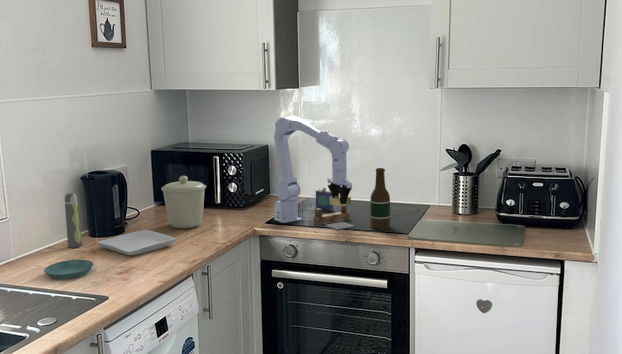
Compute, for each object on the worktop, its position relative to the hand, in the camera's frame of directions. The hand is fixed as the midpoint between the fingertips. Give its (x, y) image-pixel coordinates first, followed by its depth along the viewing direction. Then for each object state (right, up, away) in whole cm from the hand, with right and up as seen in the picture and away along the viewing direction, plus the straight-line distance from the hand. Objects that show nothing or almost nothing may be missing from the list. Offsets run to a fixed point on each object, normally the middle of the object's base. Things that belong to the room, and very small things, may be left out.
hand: (339, 202), depth 245 cm
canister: (-64, -10, +8) cm, 65 cm away
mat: (0, -10, +2) cm, 10 cm away
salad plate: (-75, -16, -22) cm, 80 cm away
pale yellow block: (0, -1, 0) cm, 1 cm away
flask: (-5, -5, +31) cm, 32 cm away
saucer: (-89, -21, -51) cm, 105 cm away
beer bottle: (+16, -10, -1) cm, 19 cm away
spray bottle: (-99, -16, -20) cm, 102 cm away
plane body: (-3, -8, +10) cm, 13 cm away
